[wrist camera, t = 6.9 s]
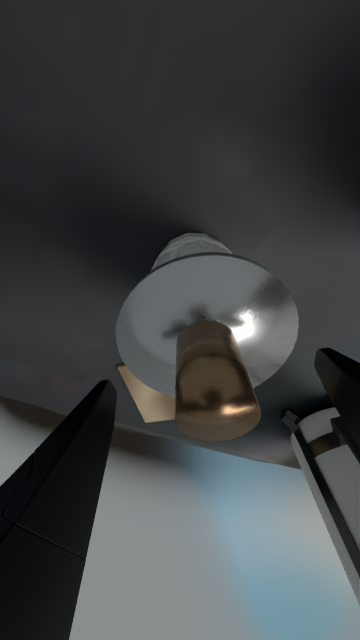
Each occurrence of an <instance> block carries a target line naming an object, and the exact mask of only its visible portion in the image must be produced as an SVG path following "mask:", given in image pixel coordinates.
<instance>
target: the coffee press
mask: <svg viewBox="0 0 360 640" xmlns="http://www.w3.org/2000/svg"><path fill="white" fill-rule="evenodd" d="M280 419H281V420H282V421H283V422H284V423H285V424H286V425H287V426H288V427H289V428H290V430H291V431H292V435H291V443H292V446H293V449H294V451H295V454H296V456H297V459H298V461H299V463H300V466H301V468H302V470H303V473H304V475H305V478H306V480H307V482H308V485H309V487H310V490H311V491H312V494H313V497H314V499H315V501H316V503H317V506H318V508H319V511H320V513H321V515H322V518H323V520H324V522H325V525H326V527H327V530H328V532H329V534H330V537H331V539H332V541H333V544H334V546H335V548H336V551H337V553H338V556H339V558H340V560H341V562H342V565H343V567H344V570H345V572H346V574H347V577H348V579H349V581H350V584H351V586H352V588H353V591H354V593H355V595H356V598H357V600H358V603H359V605H360V447H359V445H358V444H357V442H356V440H355V439H354V437H353V436H352V434H351V432H350V431H349V429H348V428H347V426H346V424H345V423H344V421H343V420H342V418H341V416H340V415H339V413H338V412H337V410H336V408H335V407H333V408H328V409H325V410H321V411H318V412H316V413H313V414H311V415H309V416H308V417H306V418H301V417H299V416H297V415H296V414H295V413H293V412H292V411H291V410H289V409H285V410H284V411H283V412H282V414H281V415H280ZM294 422H295V423H297V425H296V424H295V423H294Z"/></svg>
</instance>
